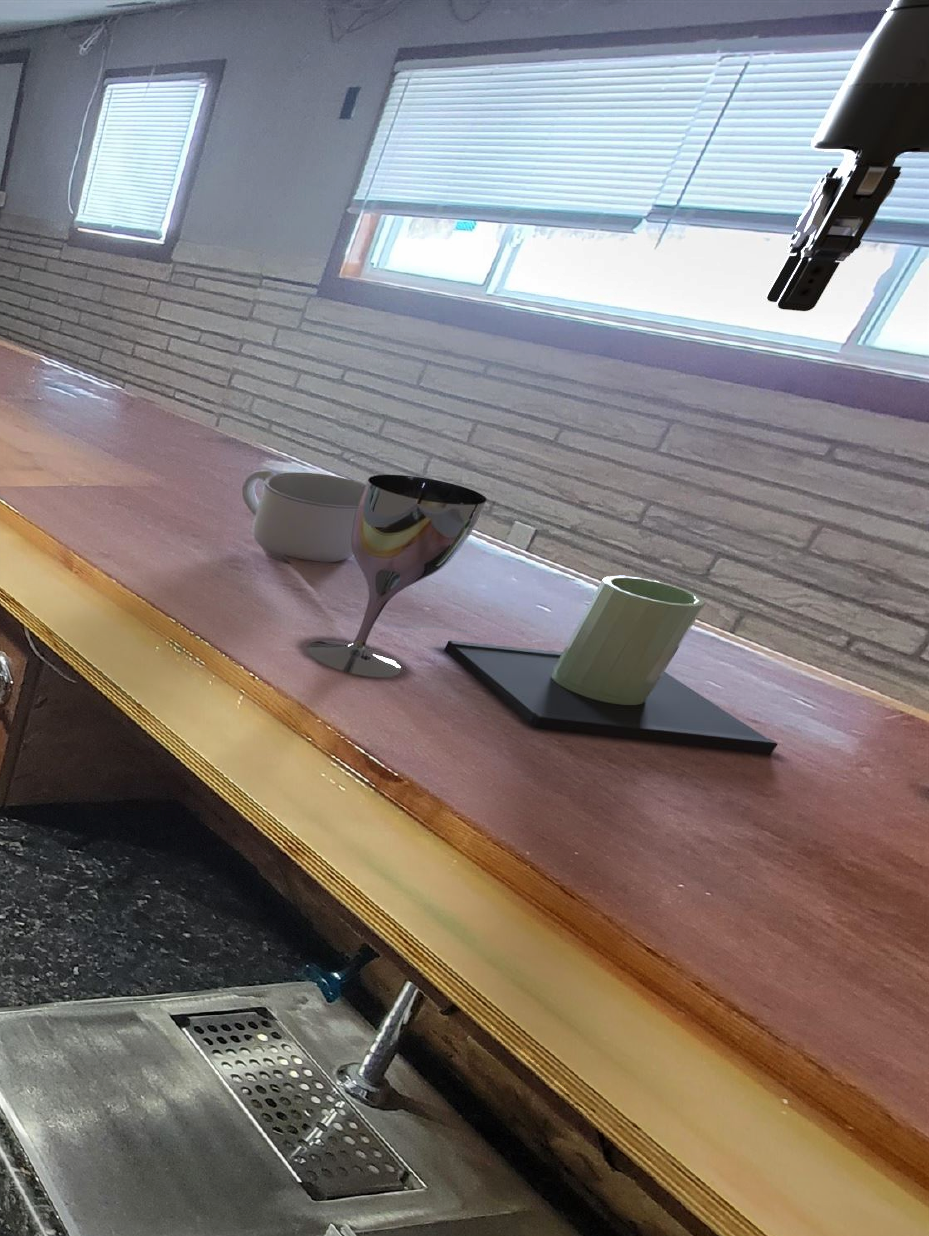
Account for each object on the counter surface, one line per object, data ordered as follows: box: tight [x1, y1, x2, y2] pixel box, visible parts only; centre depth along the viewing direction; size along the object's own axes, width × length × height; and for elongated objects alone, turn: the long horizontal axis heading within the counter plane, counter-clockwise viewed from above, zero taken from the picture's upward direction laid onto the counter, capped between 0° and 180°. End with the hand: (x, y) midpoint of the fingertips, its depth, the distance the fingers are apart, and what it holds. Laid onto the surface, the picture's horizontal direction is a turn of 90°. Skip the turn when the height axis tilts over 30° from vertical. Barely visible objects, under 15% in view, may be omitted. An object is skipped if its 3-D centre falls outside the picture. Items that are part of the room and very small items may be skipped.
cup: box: [552, 575, 707, 705], centre depth 79 cm, size 6×6×8 cm
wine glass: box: [306, 474, 488, 678], centre depth 83 cm, size 8×8×15 cm
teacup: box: [241, 469, 366, 565], centre depth 108 cm, size 14×11×8 cm
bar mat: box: [443, 640, 778, 756], centre depth 82 cm, size 16×14×1 cm
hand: (786, 306), depth 85 cm, fingers open, 8 cm apart
